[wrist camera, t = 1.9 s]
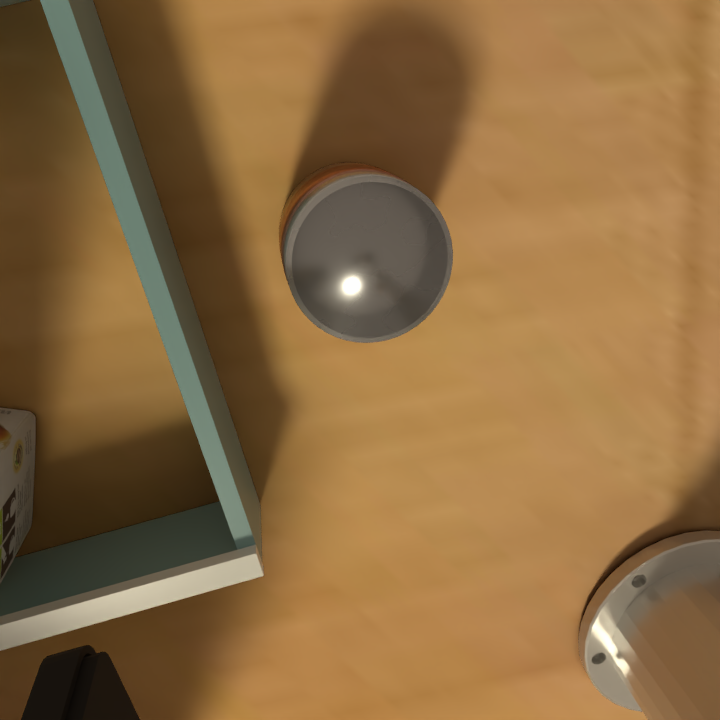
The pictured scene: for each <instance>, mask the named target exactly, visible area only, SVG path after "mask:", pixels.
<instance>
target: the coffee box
mask: <svg viewBox="0 0 720 720" xmlns="http://www.w3.org/2000/svg"><path fill="white" fill-rule="evenodd" d="M35 445H36V418H35V415H34V414H33V413H31V412H30V411H25V410H16V409H8V408H1V407H0V584H1V582H2V580H3V578H4V576H5V574H6V572H7V571H8V569H9V567H10V565H11V564H12V562H13V560H14V558H15V556H16V554H17V552H18V550H19V548H20V547H21V545H22V543H23V541H24V539H25V537H26V535H27V533H28V532H29V530H30V528H31V525H32V515H33V496H34V472H35Z"/></svg>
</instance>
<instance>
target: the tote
mask: <svg viewBox="0 0 720 720" xmlns="http://www.w3.org/2000/svg"><path fill="white" fill-rule="evenodd" d="M25 1H29V0H0V7H2V6H7V5H11V4H16V3H20V2H25ZM40 1H41V4H42V7H43V10H44V13H45V15H46V18H47V21H48V24H49V27H50V29H51V32H52V35H53V38H54V40H55V43H56V46H57V49H58V52H59V54H60V57H61V60H62V63H63V66H64V68H65V71H66V74H67V77H68V79H69V82H70V85H71V88H72V91H73V93H74V96H75V99H76V102H77V104H78V107H79V110H80V113H81V116H82V118H83V121H84V124H85V127H86V130H87V132H88V135H89V138H90V141H91V143H92V146H93V149H94V152H95V155H96V157H97V160H98V163H99V166H100V169H101V171H102V174H103V177H104V180H105V182H106V185H107V188H108V191H109V194H110V196H111V199H112V202H113V205H114V207H115V210H116V213H117V216H118V219H119V221H120V224H121V227H122V230H123V233H124V235H125V238H126V241H127V244H128V246H129V249H130V252H131V255H132V258H133V260H134V263H135V266H136V269H137V272H138V274H139V277H140V280H141V283H142V285H143V288H144V291H145V294H146V297H147V299H148V302H149V305H150V308H151V311H152V313H153V316H154V319H155V322H156V324H157V327H158V330H159V333H160V336H161V338H162V341H163V344H164V347H165V349H166V352H167V355H168V358H169V361H170V363H171V366H172V369H173V372H174V375H175V377H176V380H177V383H178V386H179V388H180V391H181V394H182V397H183V400H184V402H185V405H186V408H187V411H188V414H189V416H190V419H191V422H192V425H193V427H194V430H195V433H196V436H197V439H198V441H199V444H200V447H201V450H202V452H203V455H204V458H205V461H206V464H207V466H208V469H209V472H210V475H211V478H212V480H213V483H214V486H215V489H216V491H217V494H218V497H219V500H220V501H219V502H215V503H212V504H208V505H205V506H201V507H197V508H194V509H190V510H186V511H183V512H179V513H176V514H172V515H168V516H165V517H161V518H157V519H154V520H150V521H147V522H143V523H139V524H136V525H132V526H128V527H125V528H121V529H118V530H114V531H110V532H107V533H103V534H99V535H96V536H92V537H89V538H85V539H81V540H78V541H74V542H70V543H67V544H63V545H60V546H56V547H52V548H49V549H45V550H42V551H38V552H34V553H31V554H27V555H23V556H20V557H16V558H14V560H13V562H12V564H11V565H10V567H9V569H8V571H7V572H6V574H5V576H4V578H3V580H2V582H1V584H0V651H1V650H5V649H8V648H12V647H15V646H19V645H22V644H26V643H30V642H33V641H37V640H40V639H44V638H47V637H51V636H54V635H58V634H61V633H65V632H68V631H72V630H75V629H79V628H82V627H86V626H89V625H93V624H96V623H100V622H103V621H107V620H110V619H114V618H117V617H121V616H124V615H128V614H131V613H135V612H139V611H142V610H146V609H149V608H153V607H156V606H160V605H163V604H167V603H170V602H174V601H177V600H181V599H184V598H188V597H191V596H195V595H198V594H202V593H205V592H209V591H212V590H216V589H219V588H223V587H226V586H230V585H233V584H237V583H240V582H244V581H248V580H251V579H255V578H258V577H262V576H264V566H263V564H262V538H261V507H260V502H259V499H258V496H257V493H256V490H255V487H254V484H253V481H252V478H251V475H250V472H249V469H248V466H247V463H246V460H245V457H244V454H243V451H242V448H241V445H240V442H239V439H238V436H237V433H236V430H235V427H234V424H233V421H232V418H231V415H230V412H229V409H228V406H227V403H226V400H225V397H224V394H223V391H222V388H221V385H220V381H219V378H218V375H217V372H216V369H215V366H214V363H213V360H212V357H211V354H210V351H209V348H208V345H207V342H206V339H205V336H204V333H203V330H202V327H201V324H200V321H199V318H198V315H197V312H196V309H195V306H194V303H193V300H192V297H191V294H190V291H189V288H188V285H187V282H186V279H185V276H184V273H183V270H182V267H181V264H180V261H179V258H178V255H177V252H176V249H175V246H174V243H173V240H172V237H171V234H170V231H169V228H168V225H167V222H166V219H165V216H164V213H163V210H162V207H161V204H160V201H159V198H158V195H157V192H156V189H155V186H154V183H153V180H152V177H151V174H150V171H149V168H148V165H147V162H146V159H145V156H144V153H143V150H142V146H141V143H140V140H139V137H138V134H137V131H136V128H135V125H134V122H133V119H132V116H131V113H130V110H129V107H128V104H127V101H126V98H125V95H124V92H123V89H122V86H121V83H120V80H119V77H118V74H117V71H116V68H115V65H114V62H113V59H112V56H111V53H110V50H109V47H108V44H107V41H106V38H105V35H104V32H103V29H102V26H101V23H100V20H99V17H98V14H97V11H96V8H95V5H94V2H93V0H40Z"/></svg>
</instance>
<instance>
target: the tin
mask: <svg viewBox="0 0 720 720" xmlns="http://www.w3.org/2000/svg"><path fill="white" fill-rule="evenodd" d="M279 243H280V253H281V258H282V263H283V267H284V272H285V275H286V278H287V281H288V284H289V286H290V289H291V292H292V295H293V297H294V299H295V301H296V303H297V305H298V306H299V308H300V309H301V310H302V312H303V313H304V314H305V315H306V316H307V318H308V319H309V320H310V321H311V322H313V323H314V324H315V325H316V326H317V327H319V328H320V329H322V330H323V331H325V332H326V333H328V334H330V335H333V336H335V337H337V338H340V339H343V340H347V341H352V342H362V343H370V342H380V341H385V340H389V339H392V338H395V337H398V336H400V335H402V334H404V333H406V332H408V331H410V330H411V329H413V328H414V327H416V326H417V325H418V324H420V323H421V322H422V321H423V320H425V319H426V318H427V316H428V315H429V314H430V313H431V312H432V311H433V310H434V308H435V307H436V306H437V304H438V303H439V301H440V300H441V298H442V296H443V294H444V292H445V290H446V287H447V285H448V282H449V279H450V275H451V270H452V261H453V250H452V241H451V237H450V233H449V230H448V227H447V225H446V222H445V220H444V218H443V216H442V215H441V213H440V211H439V210H438V209H437V207H436V206H435V205H434V203H433V202H432V201H431V200H430V199H429V198H428V197H427V196H426V195H425V194H423V193H422V192H421V191H419V190H418V189H417V188H415V187H413V186H412V185H411V184H409V183H408V182H406V181H404V180H403V179H401V178H399V177H397V176H395V175H393V174H391V173H389V172H387V171H385V170H382V169H380V168H377V167H373V166H371V165H367V164H363V163H356V162H342V163H336V164H332V165H329V166H326V167H323V168H321V169H319V170H317V171H315V172H313V173H312V174H310V175H309V176H307V177H306V178H305V179H304V180H303V181H302V182H300V183H299V185H298V186H297V187H296V188H295V189H294V190H293V192H292V193H291V195H290V196H289V198H288V200H287V202H286V204H285V206H284V209H283V212H282V215H281V219H280V225H279Z"/></svg>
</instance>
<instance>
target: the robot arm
mask: <svg viewBox="0 0 720 720" xmlns="http://www.w3.org/2000/svg"><path fill="white" fill-rule="evenodd" d="M578 644H579V656H580V659H581V662H582V665H583V668H584V670H585V671H586V673H587V675H588V676H589V678H590V680H591V682H592V683H593V685H594V686H595V687H596V689H597V690H598V691H599V692H600V693H601V694H602V695H603V696H604V697H605V698H607V699H608V700H610V701H611V702H613V703H614V704H616V705H619V706H622V707H624V708H627V709H630V710H635V711H641V712H643V713H644V714H645V716H646V717H647V719H648V720H720V531H707V530H704V531H696V532H688V533H683V534H680V535H676V536H673V537H670V538H666V539H664V540H661V541H659V542H657V543H655V544H653V545H651V546H648V547H646V548H644V549H643V550H641V551H640V552H638V553H637V554H635V555H634V556H632V557H630V558H629V559H627V560H626V561H625V562H624V563H623V564H622V565H620V566H619V567H618V568H617V569H616V570H615V571H613V572H612V573H611V574H610V576H609V577H608V578H607V579H606V580H605V581H604V583H603V584H602V585H601V586H600V587H599V588H598V590H597V591H596V593H595V595H594V596H593V598H592V599H591V601H590V603H589V604H588V606H587V609H586V611H585V614H584V616H583V619H582V621H581V626H580V632H579V637H578ZM21 720H140V719H139V717H138V715H137V713H136V711H135V709H134V707H133V704H132V702H131V700H130V698H129V696H128V694H127V692H126V690H125V688H124V686H123V684H122V682H121V679H120V677H119V675H118V673H117V671H116V669H115V667H114V665H113V663H112V661H111V659H110V657H109V655H108V654H107V653H106V652H100V653H97V654H96V652H95V650H94V649H93V648H92V647H91V646H89V645H86V646H82V647H78V648H75V649H71V650H68V651H64V652H61V653H57V654H54V655H50V656H47V657H46V658H45V659H44V660H43V661H42V663H41V665H40V668H39V671H38V674H37V676H36V679H35V682H34V685H33V688H32V690H31V693H30V696H29V699H28V702H27V705H26V707H25V710H24V713H23V716H22V719H21Z"/></svg>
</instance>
